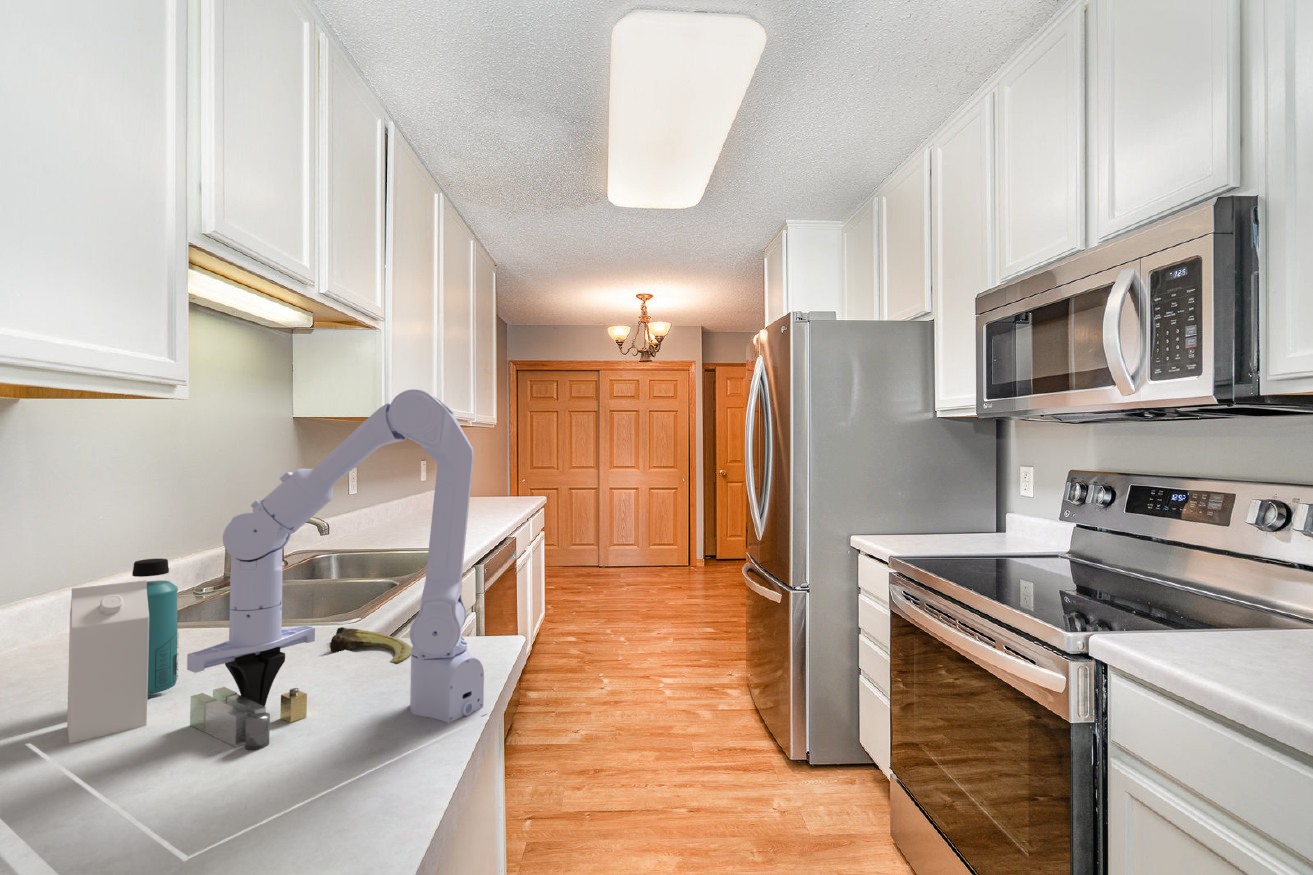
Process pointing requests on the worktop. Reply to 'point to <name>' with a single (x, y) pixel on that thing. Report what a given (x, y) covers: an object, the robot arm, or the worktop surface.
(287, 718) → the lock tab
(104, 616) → the milk carton
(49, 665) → the worktop surface
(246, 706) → the bar
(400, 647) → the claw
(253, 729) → the tongs fixed
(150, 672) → the beverage bottle
